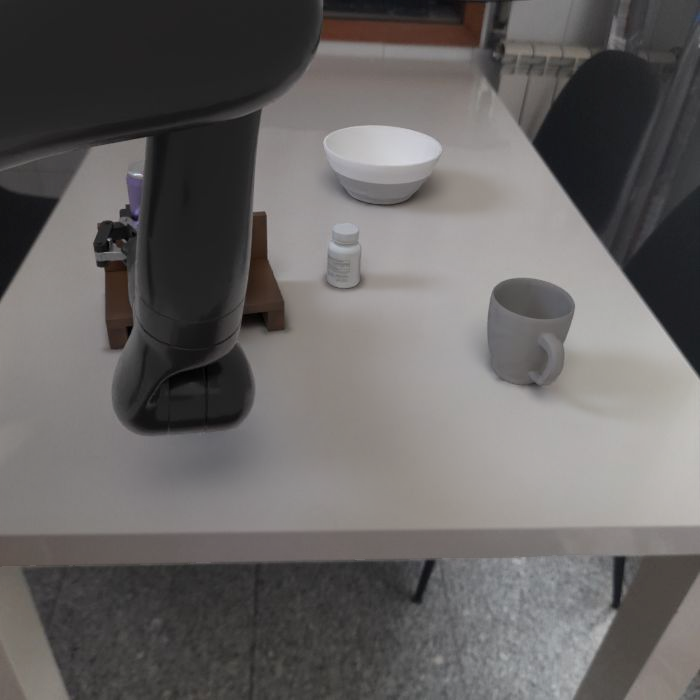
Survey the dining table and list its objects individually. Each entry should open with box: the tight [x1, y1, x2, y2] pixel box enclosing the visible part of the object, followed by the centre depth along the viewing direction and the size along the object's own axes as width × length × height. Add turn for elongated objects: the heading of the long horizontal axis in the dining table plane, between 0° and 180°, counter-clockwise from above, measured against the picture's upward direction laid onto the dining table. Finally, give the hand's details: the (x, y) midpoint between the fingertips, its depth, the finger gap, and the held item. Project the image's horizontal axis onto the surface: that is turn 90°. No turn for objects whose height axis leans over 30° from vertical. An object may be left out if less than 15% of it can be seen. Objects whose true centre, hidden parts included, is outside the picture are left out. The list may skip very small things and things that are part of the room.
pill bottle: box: [326, 222, 362, 289], centre depth 94 cm, size 4×4×8 cm
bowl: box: [322, 124, 443, 205], centre depth 119 cm, size 20×20×8 cm
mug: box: [486, 277, 576, 386], centre depth 77 cm, size 12×9×10 cm
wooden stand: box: [96, 210, 286, 350], centre depth 85 cm, size 20×12×10 cm, turn 106°
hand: (158, 210), depth 81 cm, fingers closed on beverage can, 5 cm apart
